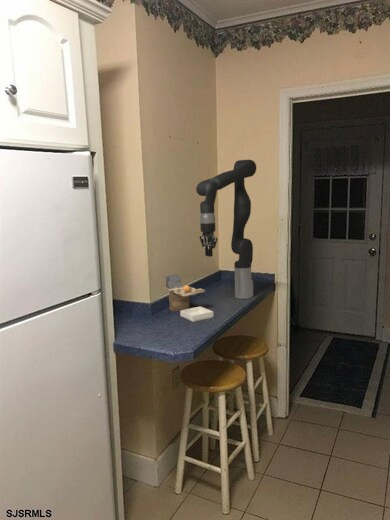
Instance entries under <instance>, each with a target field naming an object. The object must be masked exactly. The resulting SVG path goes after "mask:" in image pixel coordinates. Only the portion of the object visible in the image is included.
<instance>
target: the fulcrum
mask: <svg viewBox="0 0 390 520" xmlns="http://www.w3.org/2000/svg"><path fill="white" fill-rule="evenodd" d="M168 292H169V293H168V300H169V301H168V302H169V310H170V311H171V312H173V313H174V312H177V311H179V312H180V311H181V310H186V309H190V308H191V307H190V295H189V296H181V295H179V294H176V293H174V292H173V291H172V290H169V291H168Z"/></svg>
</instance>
